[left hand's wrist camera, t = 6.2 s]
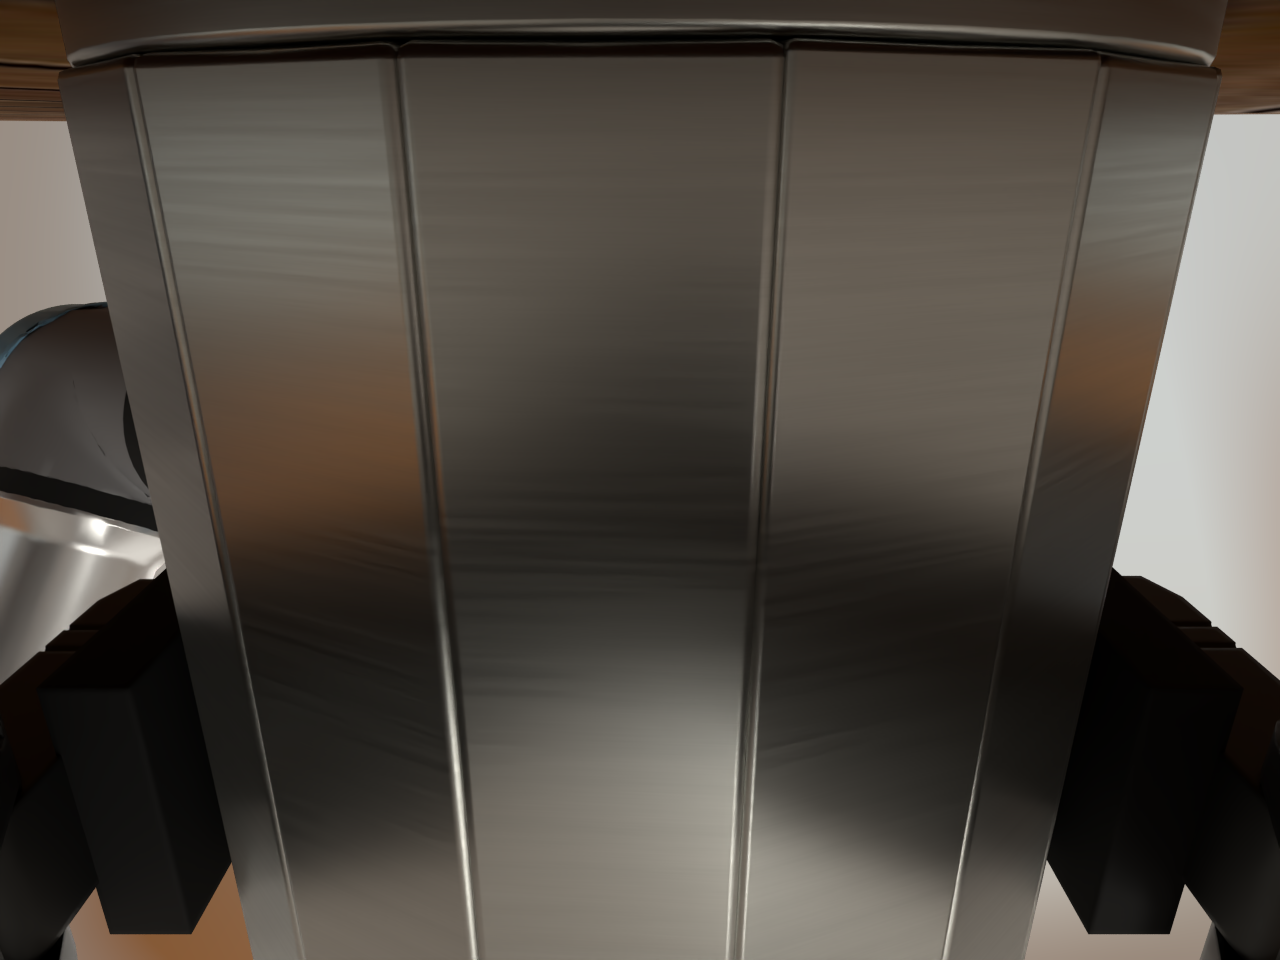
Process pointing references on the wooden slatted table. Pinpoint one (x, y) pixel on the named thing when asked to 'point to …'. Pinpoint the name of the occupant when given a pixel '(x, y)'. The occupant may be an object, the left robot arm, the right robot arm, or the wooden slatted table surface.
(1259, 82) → the wooden slatted table surface
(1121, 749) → the left robot arm
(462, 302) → the cup
